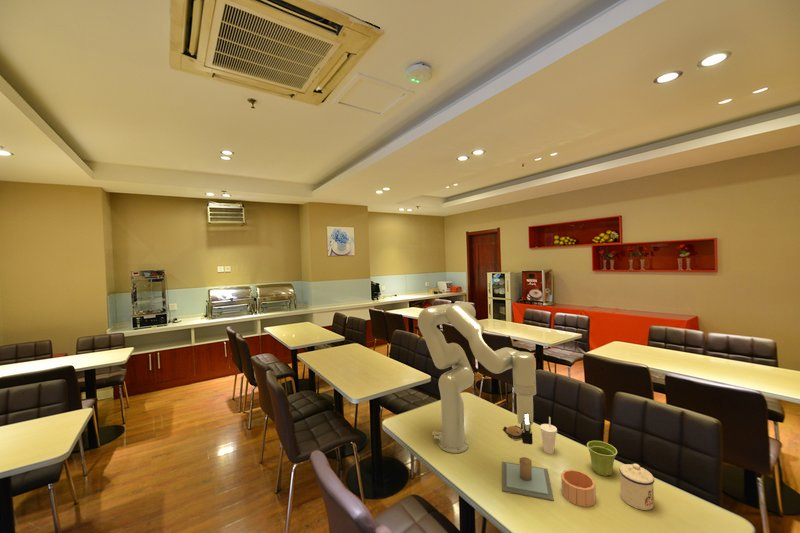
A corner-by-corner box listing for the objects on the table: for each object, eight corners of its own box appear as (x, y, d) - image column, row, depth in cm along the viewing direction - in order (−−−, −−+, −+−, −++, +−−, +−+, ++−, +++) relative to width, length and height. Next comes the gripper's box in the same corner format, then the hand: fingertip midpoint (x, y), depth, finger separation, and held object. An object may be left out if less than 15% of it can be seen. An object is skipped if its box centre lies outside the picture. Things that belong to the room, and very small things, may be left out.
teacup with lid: (652, 516, 97) (652, 478, 97) (617, 501, 103) (616, 465, 103) (657, 494, 106) (656, 459, 106) (623, 482, 112) (623, 449, 112)
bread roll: (530, 440, 140) (530, 431, 140) (513, 442, 139) (513, 434, 139) (516, 427, 151) (516, 419, 151) (500, 429, 149) (500, 422, 149)
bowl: (564, 503, 103) (564, 486, 103) (559, 482, 112) (559, 467, 112) (598, 509, 100) (598, 492, 100) (590, 488, 109) (590, 472, 109)
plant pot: (618, 483, 112) (617, 458, 112) (586, 474, 117) (586, 450, 116) (616, 467, 120) (616, 445, 119) (587, 460, 125) (587, 438, 124)
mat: (502, 491, 109) (502, 490, 109) (502, 462, 124) (502, 461, 124) (553, 501, 104) (553, 499, 104) (547, 470, 119) (547, 468, 119)
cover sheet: (506, 487, 110) (506, 468, 110) (506, 464, 122) (506, 447, 122) (548, 495, 106) (547, 475, 106) (543, 470, 118) (543, 453, 118)
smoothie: (559, 456, 127) (558, 421, 127) (542, 455, 128) (541, 420, 128) (555, 447, 133) (554, 414, 133) (538, 445, 135) (538, 412, 135)
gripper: (512, 378, 123) (514, 423, 123) (514, 396, 106) (516, 448, 106) (533, 380, 120) (535, 425, 120) (538, 398, 104) (540, 451, 104)
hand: (526, 436), depth 113 cm, fingers open, 9 cm apart
